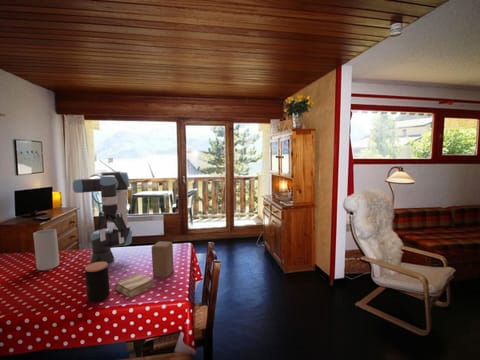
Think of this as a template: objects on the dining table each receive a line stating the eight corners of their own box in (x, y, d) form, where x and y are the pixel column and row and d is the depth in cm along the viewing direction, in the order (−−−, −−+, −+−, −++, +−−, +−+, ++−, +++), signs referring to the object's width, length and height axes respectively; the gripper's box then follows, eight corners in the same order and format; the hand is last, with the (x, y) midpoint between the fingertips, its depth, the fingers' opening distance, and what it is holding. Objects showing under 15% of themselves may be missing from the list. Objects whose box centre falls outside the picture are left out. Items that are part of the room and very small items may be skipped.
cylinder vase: (32, 269, 172) (28, 233, 169) (52, 261, 183) (48, 228, 181) (44, 272, 167) (40, 235, 164) (63, 264, 179) (60, 230, 176)
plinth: (115, 289, 144) (115, 282, 144) (139, 278, 156) (138, 272, 156) (130, 297, 136) (130, 290, 135) (154, 285, 148) (153, 279, 147)
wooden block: (167, 278, 156) (165, 247, 154) (152, 276, 158) (150, 246, 156) (174, 270, 166) (173, 241, 164) (160, 269, 168) (159, 240, 166)
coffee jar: (93, 292, 141) (91, 261, 139) (113, 291, 142) (111, 261, 140) (83, 304, 131) (80, 270, 129) (104, 302, 131) (102, 269, 130)
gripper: (86, 204, 138) (89, 241, 140) (121, 206, 130) (124, 246, 132) (98, 201, 145) (101, 237, 147) (132, 203, 137) (135, 241, 139)
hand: (112, 241), depth 140 cm, fingers open, 13 cm apart
